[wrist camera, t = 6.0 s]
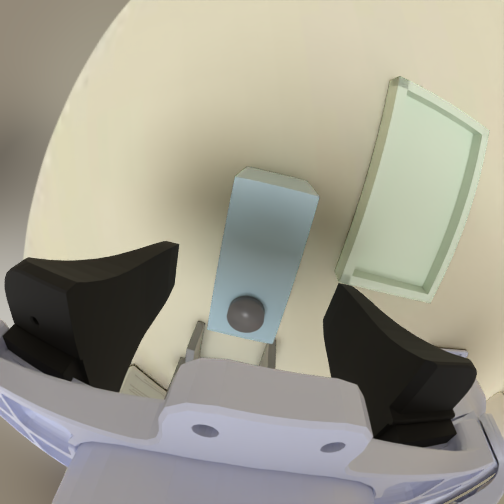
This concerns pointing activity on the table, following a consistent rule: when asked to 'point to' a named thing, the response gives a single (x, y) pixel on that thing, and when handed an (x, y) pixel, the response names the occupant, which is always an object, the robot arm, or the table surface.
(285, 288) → the tall blue-grey prism
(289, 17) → the table surface
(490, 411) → the vase
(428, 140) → the tray
